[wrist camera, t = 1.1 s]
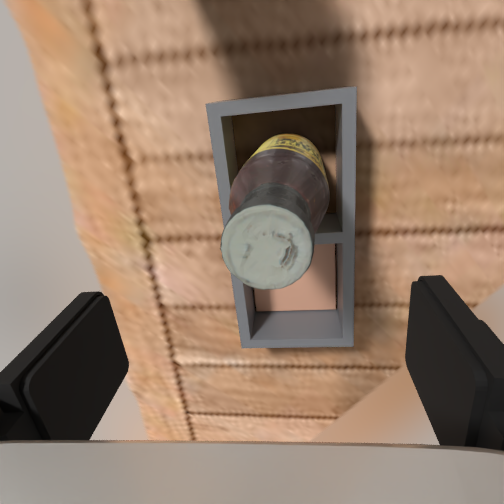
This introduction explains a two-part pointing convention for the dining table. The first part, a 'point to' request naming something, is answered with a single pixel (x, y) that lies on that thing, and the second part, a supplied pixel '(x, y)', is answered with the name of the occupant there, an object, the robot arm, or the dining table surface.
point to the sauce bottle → (275, 213)
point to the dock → (328, 233)
